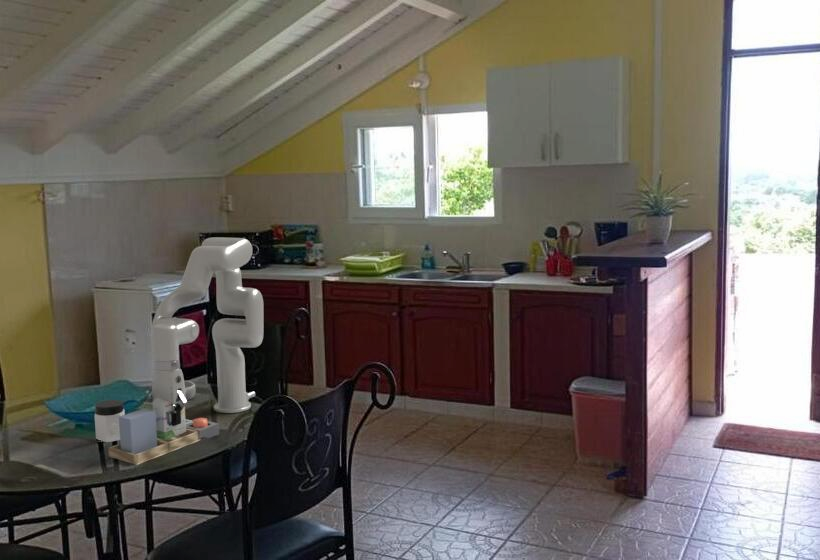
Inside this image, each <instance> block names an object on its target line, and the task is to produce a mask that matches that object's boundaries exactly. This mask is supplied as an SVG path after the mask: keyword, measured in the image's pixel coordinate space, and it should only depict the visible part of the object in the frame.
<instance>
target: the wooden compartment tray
mask: <svg viewBox="0 0 820 560" xmlns="http://www.w3.org/2000/svg"><path fill="white" fill-rule="evenodd" d="M199 441H201V438H200V432H199V431H195V430H191V429H187V428H186V432H184V433H182V434H179V435H177V436H174V437H172V438H170V439H167V440H162V439H159V438H157V447H154V448H152V449H149V450H146V451H144V452H141V453H138V454H133V453H129V452H126V451H122V450H121V444H120V443H118V444H115V445H112V446H110V447H107V457H109V458H112V459H117V460H120V461H122V462H123V461H124V462H127V463H129V464H133V465H137V466H139V465H141V464H143V463H145V462H148V461H150V460H153V459H157V458H158V457H161V456H164V455H166V454H169V453H172V452H174V451H176V450H179V449H181V448H184V447H186V446H188V445H192V444H194V443H197V442H199Z"/></svg>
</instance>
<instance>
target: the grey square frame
mask: <svg viewBox="0 0 820 560" xmlns="http://www.w3.org/2000/svg"><path fill="white" fill-rule="evenodd" d="M207 423H208V426H206V427H203V428H200V429H199V428H195V427H193V422H192V423H189V424H187V425H186V428H187V429H191V430H195V431H199V432H200V439H201V438H206V439H211V438H213V437H216V436H219V435H220V423H217V422H213V421H210V420H207Z"/></svg>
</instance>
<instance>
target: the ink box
mask: <svg viewBox="0 0 820 560" xmlns="http://www.w3.org/2000/svg"><path fill="white" fill-rule="evenodd" d="M176 401H177V400H176ZM185 406H186V405H185ZM185 406H184V407H183V409H182V411H181V424H178V425H176V426H172V420H171V413H173V412H172V408H171V404H170V403H169V401H165V400H162V399H159V398H157V399H154V401H153V400H152V411H155V412H156V429H157V438H159V439H162V440H167V439H170V438H172V437H174V436H177V435H179V434H182V433H184V432H186V423H185V419H186V407H185ZM175 407H177V404H175Z"/></svg>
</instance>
